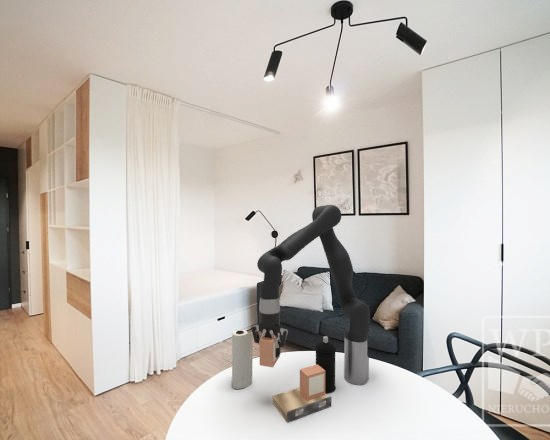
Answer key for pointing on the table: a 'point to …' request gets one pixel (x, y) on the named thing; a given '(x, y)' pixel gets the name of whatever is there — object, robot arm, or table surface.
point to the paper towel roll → (242, 358)
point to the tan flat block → (298, 404)
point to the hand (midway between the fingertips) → (269, 355)
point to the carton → (267, 351)
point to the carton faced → (312, 382)
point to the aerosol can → (327, 362)
